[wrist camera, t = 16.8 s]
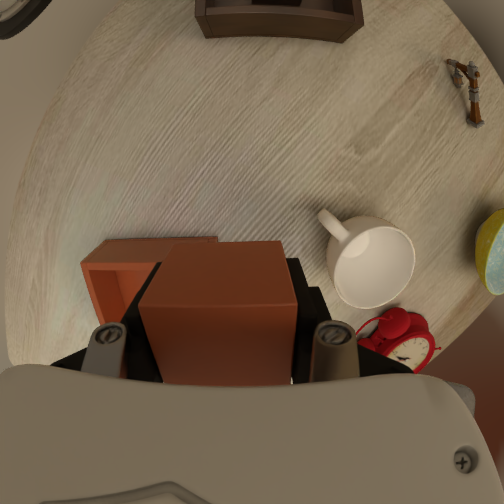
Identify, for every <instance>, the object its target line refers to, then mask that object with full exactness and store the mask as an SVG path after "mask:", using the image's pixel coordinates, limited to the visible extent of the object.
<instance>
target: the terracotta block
mask: <svg viewBox="0 0 504 504" xmlns="http://www.w3.org/2000/svg"><path fill="white" fill-rule="evenodd" d="M297 306H298V303H297V299H296V295H295V292H294V288H293V284H292V280H291V276H290V272H289V269H288V265H287V261H286V257H285V254H284V250H283V246H282V243H281V241H279V240H278V241H245V242H215V243H188V244H174V245H173V246H172V248H171V249H170V251H169V252H168V254H167V256H166V257H165V259H164V261H163V262H162V264H161V266H160V267H159V269H158V271H157V272H156V274H155V276H154V277H153V279H152V281H151V283H150V284H149V286H148V288H147V290H146V291H145V293H144V295H143V297H142V298H141V300H140V302H139V304H138V308H139V312H140V315H141V318H142V322H143V325H144V328H145V331H146V334H147V337H148V340H149V343H150V346H151V349H152V352H153V355H154V357H155V360H156V363H157V366H158V368H159V371H160V374H161V376H162V379H163V381H164V383H168V384H181V385H200V386H270V385H289V384H291V375H292V365H293V355H294V344H295V332H296V320H297Z"/></svg>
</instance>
